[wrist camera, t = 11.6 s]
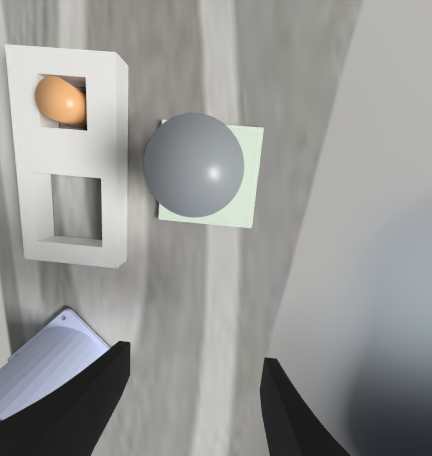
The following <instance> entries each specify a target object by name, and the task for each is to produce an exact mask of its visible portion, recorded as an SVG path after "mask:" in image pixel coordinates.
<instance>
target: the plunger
mask: <svg viewBox="0 0 432 456" xmlns="http://www.w3.org/2000/svg"><path fill="white" fill-rule="evenodd" d="M35 100H36V104H37V106H38V108H39V110H40V111H41V112H42V113H43V114H44V115H45V116H46V117H48V118H50V119H53V120H56V121H58V122H61V123H64V124H67V125H70V126H73V127H83V126H85V125H86V124H87V101H86V94H85V93H84V92H82V91H81V90H79V89H78V88H76V87H74V86H73V85H71V84H69V83H68V82H66V81H64V80H63V79H61V78H59V77H56V76H48V77H45V78H43V79H42V80H41V81H40V82H39V83H38V85H37V87H36V90H35Z"/></svg>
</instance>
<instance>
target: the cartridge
mask: <svg viewBox="0 0 432 456" xmlns="http://www.w3.org/2000/svg"><path fill="white" fill-rule="evenodd" d="M143 168H144V175H145V179H146V183H147V185H148V188H149V189H150V191H151V193H152V195H153V196H154V197H155V199H156V200H157V201H158V202H159V203H160V204H161V205H162V206H163V207H165V208H166V209H168V210H169V211H171V212H173V213H175V214H178V215H180V216H184V217H192V218H197V217H205V216H209V215H212V214H214V213H216V212H218V211H220V210H221V209H223V208H224V207H225V206H227V205H228V204H229V203H230V202H231V201H232V199H233V198H234V197H235V195H236V194H237V192H238V190H239V188H240V186H241V183H242V180H243V175H244V157H243V152H242V149H241V146H240V144H239V142H238V140H237V138H236V137H235V135H234V134H233V132H232V131H231V130H230V129H229V128H228V127H227V126H226V125H225V124H224V123H222V122H221V121H219V120H217V119H216V118H214V117H211V116H208V115H205V114H200V113H186V114H181V115H178V116H175V117H173V118H171V119H169V120H167V121H166V122H164V123H163V124H162V125H161V126H160V127H159V128H158V129H157V130H156V131H155V132H154V133H153V135H152V136H151V138H150V140H149V142H148V144H147V147H146V150H145V154H144V161H143Z"/></svg>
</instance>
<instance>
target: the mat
mask: <svg viewBox="0 0 432 456" xmlns="http://www.w3.org/2000/svg"><path fill="white" fill-rule="evenodd" d="M166 121H167V120H162V124H163V123H164V122H166ZM226 126H227V127H228V128H229V129H230V130H231V131H232V132H233V134H234V135H235V137H236V138H237V140H238V142H239V144H240V146H241V149H242V152H243V157H244V175H243V180H242V183H241V186H240V188H239V190H238V192H237V194H236V195H235V197H234V198H233V199H232V201H231V202H230V203H229V204H228V205H227V206H225V207H224V208H223V209H221V210H220V211H218V212H216V213H214V214H212V215H209V216H205V217H197V218H192V217H184V216H180V215H178V214H175V213H173V212H171V211H169V210H168V209H166V208H165V207H163V206H162V205H161V204H160V203H159V219H160V220H171V221H181V222H192V223H202V224H213V225H224V226H234V227H245V228H252V221H253V213H254V205H255V196H256V188H257V180H258V171H259V163H260V155H261V147H262V138H263V130H264V128H260V127H248V126H235V125H226Z"/></svg>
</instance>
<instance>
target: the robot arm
mask: <svg viewBox="0 0 432 456" xmlns="http://www.w3.org/2000/svg"><path fill="white" fill-rule="evenodd" d="M64 316H65V317H66V318H65V317H64ZM129 376H130V342H124V341H119V342H117V343H116V344H115V345H114V346H112V347H111V348H110V347H109V346H108V345H107V344H106V343H105V342H104V341H103V340H102V339H101V338H100V337H99V336H98V335H97V334H96V333H95V332H94V331H93V330H92V329H91V328H90V327H89V326H88V325H87V324H86V323H85V322H84V321H83V320H82V319H81V318H80V317H79V316H78V315H77V314H76V313H75V312H74V311H73V310H71V309H69V308H67V309H65V310H64V311H62V312H61V313H60V314H59V315H58V316H57V317H55V318H54V319H53V320H52V321H51V322H50V323H49V324H47V325H46V326H45V327H44V328H43V329H42V330H40V331H39V332H38V333H37V334H36V335H35V336H33V337H32V338H31V339H30V340H29V341H28V342H26V343H25V344H24V345H23V346H22V347H21V348H20V349H18V350H17V351H16V352H15V353H14V354H13V355H11V356H10V357H9V358H8V363H7V364H6V365H5V366H4V367H2V368H1V369H0V456H91V454H92V452H93V450H94V447H95V445H96V444H97V442H98V440H99V438H100V436H101V434H102V432H103V430H104V428H105V427H106V425H107V423H108V421H109V419H110V417H111V415H112V413H113V411H114V409H115V408H116V406H117V404H118V402H119V400H120V398H121V396H122V393H123V391H124V389H125V386H126V384H127V381H128V378H129ZM260 398H261V409H262V416H263V421H264V427H265V432H266V438H267V443H268V448H269V453H270V456H350V455H349V454H348V453H347V452H346V450H345V449H344V448H343V447H342V446H341V445H340V444H338V442H337V441H336V440H335V439H334V438H333V437H332V436H331V434H330V433H329V432H328V431H327V430H326V429H325V428H324V426H323V425H322V424H321V423H320V421H319V420H318V419H317V418H316V416H315V415H314V414H313V412H312V411H311V410H310V408H309V407H308V406H307V404H306V403H305V402H304V400H303V399H302V398H301V396H300V395H299V393H298V392H297V390H296V389H295V387H294V386H293V384H292V383H291V381H290V380H289V378H288V377H287V375H286V374H285V372H284V370H283V368H282V367H281V365H280V363H279V362H278V360H277V359H274V358H265V359H264V365H263V372H262V378H261V385H260Z"/></svg>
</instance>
